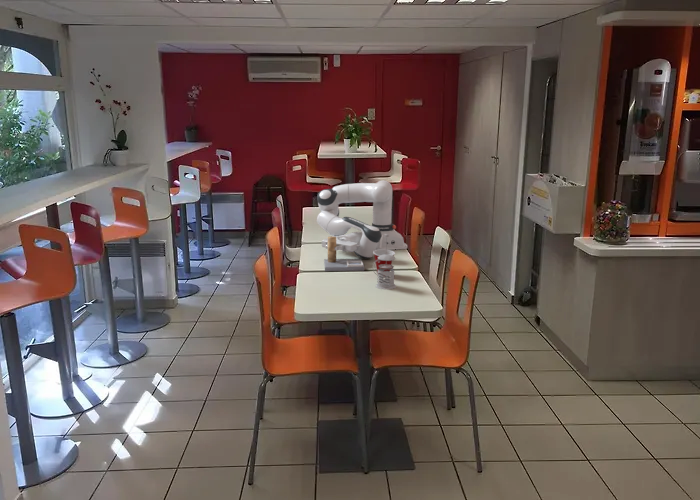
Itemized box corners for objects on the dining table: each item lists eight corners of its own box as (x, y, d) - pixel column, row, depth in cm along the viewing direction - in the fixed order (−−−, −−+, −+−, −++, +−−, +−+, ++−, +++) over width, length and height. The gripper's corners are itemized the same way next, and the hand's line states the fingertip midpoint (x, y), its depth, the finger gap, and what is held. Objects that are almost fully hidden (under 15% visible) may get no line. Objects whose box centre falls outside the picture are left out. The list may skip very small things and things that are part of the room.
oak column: (336, 260, 311) (336, 236, 307) (336, 262, 306) (336, 238, 303) (327, 260, 310) (327, 236, 307) (327, 262, 306) (327, 238, 303)
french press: (390, 290, 266) (391, 237, 260) (368, 286, 272) (368, 234, 266) (399, 285, 274) (401, 233, 268) (378, 281, 280) (379, 230, 274)
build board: (361, 262, 314) (361, 257, 313) (364, 270, 299) (364, 264, 298) (324, 262, 313) (324, 257, 312) (324, 271, 297) (324, 265, 297)
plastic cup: (379, 279, 284) (380, 255, 281) (368, 273, 293) (369, 250, 290) (398, 276, 289) (399, 252, 286) (387, 271, 298) (387, 248, 295)
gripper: (361, 251, 312) (347, 256, 301) (330, 246, 323) (315, 251, 312) (362, 239, 310) (347, 244, 299) (330, 234, 322) (315, 239, 310)
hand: (331, 247), depth 306 cm, fingers closed on oak column, 4 cm apart
